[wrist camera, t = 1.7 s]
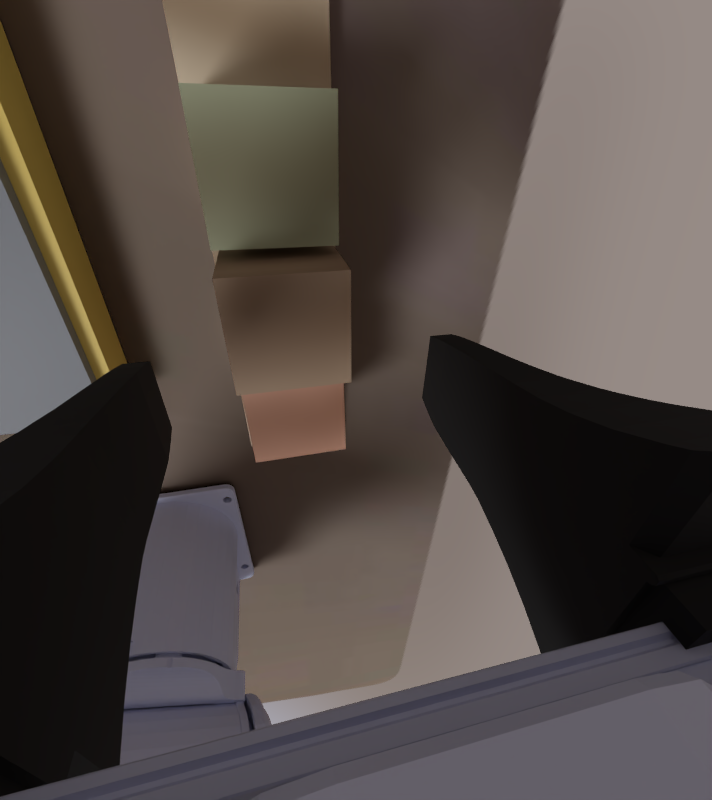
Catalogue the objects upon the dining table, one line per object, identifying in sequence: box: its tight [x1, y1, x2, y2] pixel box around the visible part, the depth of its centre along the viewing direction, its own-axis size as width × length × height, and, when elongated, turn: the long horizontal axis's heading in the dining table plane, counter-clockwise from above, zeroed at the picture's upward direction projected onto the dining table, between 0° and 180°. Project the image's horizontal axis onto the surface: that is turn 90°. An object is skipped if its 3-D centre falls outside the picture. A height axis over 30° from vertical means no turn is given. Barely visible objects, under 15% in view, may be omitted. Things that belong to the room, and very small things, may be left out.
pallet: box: [162, 0, 351, 446], centre depth 15 cm, size 18×5×7 cm, turn 0°
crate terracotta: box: [242, 383, 346, 463], centre depth 18 cm, size 4×4×4 cm
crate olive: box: [178, 83, 339, 251], centre depth 13 cm, size 4×4×4 cm
